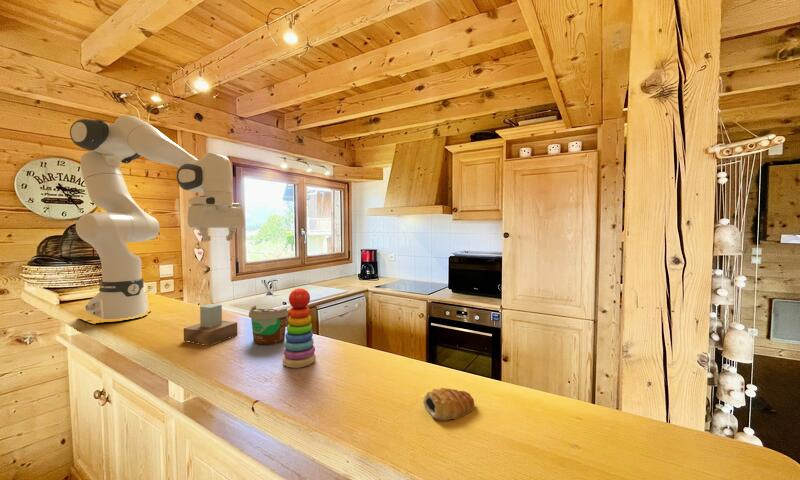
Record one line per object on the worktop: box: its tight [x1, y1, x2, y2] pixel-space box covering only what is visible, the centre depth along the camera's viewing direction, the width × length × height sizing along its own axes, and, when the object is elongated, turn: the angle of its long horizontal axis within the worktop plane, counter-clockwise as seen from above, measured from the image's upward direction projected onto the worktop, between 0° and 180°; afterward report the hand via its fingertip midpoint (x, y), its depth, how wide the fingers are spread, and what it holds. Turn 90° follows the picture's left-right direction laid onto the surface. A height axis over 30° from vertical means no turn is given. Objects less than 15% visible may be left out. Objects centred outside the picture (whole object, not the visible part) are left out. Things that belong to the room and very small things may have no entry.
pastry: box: [423, 387, 475, 421], centre depth 60 cm, size 9×7×4 cm
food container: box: [248, 305, 289, 347], centre depth 93 cm, size 12×6×10 cm, turn 73°
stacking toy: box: [282, 287, 317, 369], centre depth 80 cm, size 8×8×19 cm
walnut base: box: [183, 320, 238, 347], centre depth 97 cm, size 10×10×4 cm
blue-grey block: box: [199, 303, 223, 328], centre depth 97 cm, size 4×4×6 cm
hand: (218, 241), depth 111 cm, fingers open, 8 cm apart
